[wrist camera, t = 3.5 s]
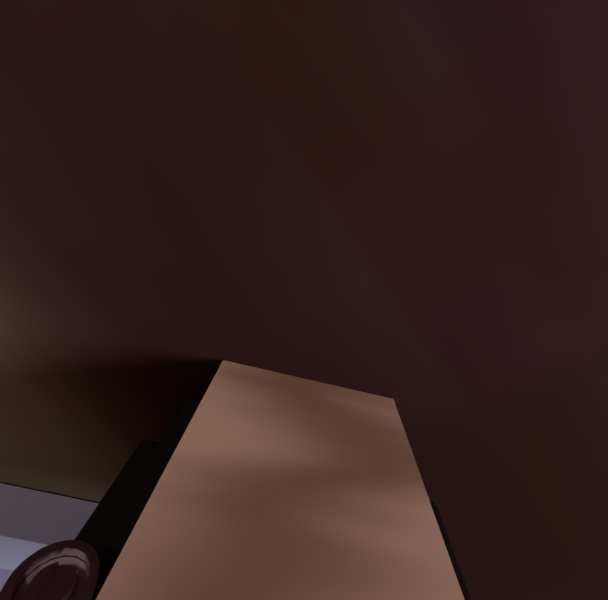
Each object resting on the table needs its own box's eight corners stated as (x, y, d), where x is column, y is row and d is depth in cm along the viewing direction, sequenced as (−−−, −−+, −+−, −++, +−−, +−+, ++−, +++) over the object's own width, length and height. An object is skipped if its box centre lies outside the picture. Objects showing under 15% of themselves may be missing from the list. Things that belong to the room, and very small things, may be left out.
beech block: (393, 398, 10) (500, 700, 4) (345, 519, 11) (374, 855, 6) (223, 359, 9) (84, 620, 4) (199, 489, 11) (78, 806, 5)
